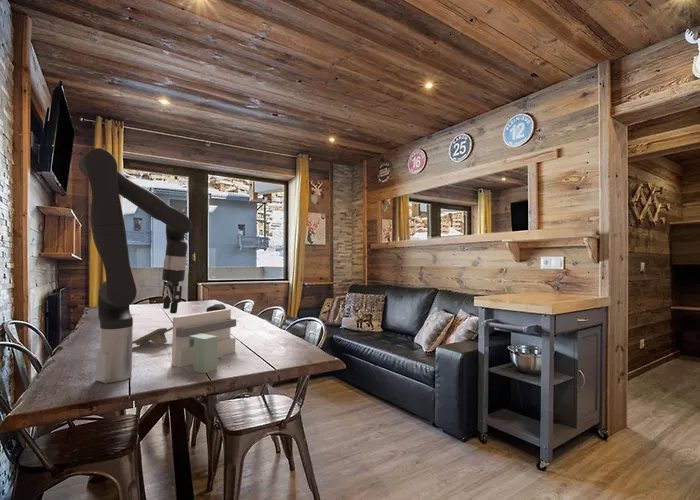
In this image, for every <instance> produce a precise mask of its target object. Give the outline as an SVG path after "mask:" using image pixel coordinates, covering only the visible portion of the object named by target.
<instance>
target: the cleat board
mask: <svg viewBox="0 0 700 500" xmlns="http://www.w3.org/2000/svg"><path fill="white" fill-rule="evenodd" d="M231 313H232V309H231V308H226V309H224V310H217V311H210V312H207V311H206V312H204V311H203V312H198V313H191V314H185V315H178V316H173V317H172V327H173V329H172V337H171V338H172V340H171V341H172V344H171V366H175V367H177V368H183V367H186V366H190V365H193V352H194V346H193V347H188V343H189V336H191V335H196V334H201V333H202V334H208V335H213V336H218V341H217V358H219V357H222V356H225V355H226V356H227V355H229V354H232V353H236V337H233V336H231V328H235V327H237V318H231V317H232V314H231Z"/></svg>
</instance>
